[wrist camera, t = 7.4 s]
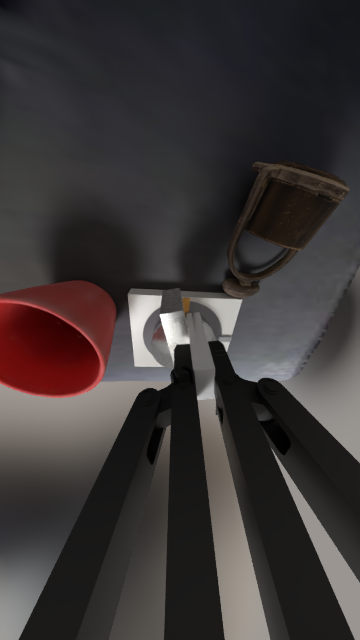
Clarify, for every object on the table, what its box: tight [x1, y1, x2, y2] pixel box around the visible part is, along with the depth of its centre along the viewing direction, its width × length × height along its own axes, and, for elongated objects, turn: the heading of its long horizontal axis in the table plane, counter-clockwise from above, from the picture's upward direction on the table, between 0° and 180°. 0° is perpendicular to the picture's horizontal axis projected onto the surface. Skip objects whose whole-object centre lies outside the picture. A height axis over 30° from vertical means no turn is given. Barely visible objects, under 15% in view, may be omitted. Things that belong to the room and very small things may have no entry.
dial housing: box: [128, 288, 242, 367], centre depth 23 cm, size 14×12×2 cm
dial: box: [151, 288, 216, 370], centre depth 18 cm, size 12×8×7 cm
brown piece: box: [222, 161, 349, 298], centre depth 15 cm, size 7×13×10 cm
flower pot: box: [0, 280, 117, 398], centre depth 17 cm, size 11×11×10 cm
